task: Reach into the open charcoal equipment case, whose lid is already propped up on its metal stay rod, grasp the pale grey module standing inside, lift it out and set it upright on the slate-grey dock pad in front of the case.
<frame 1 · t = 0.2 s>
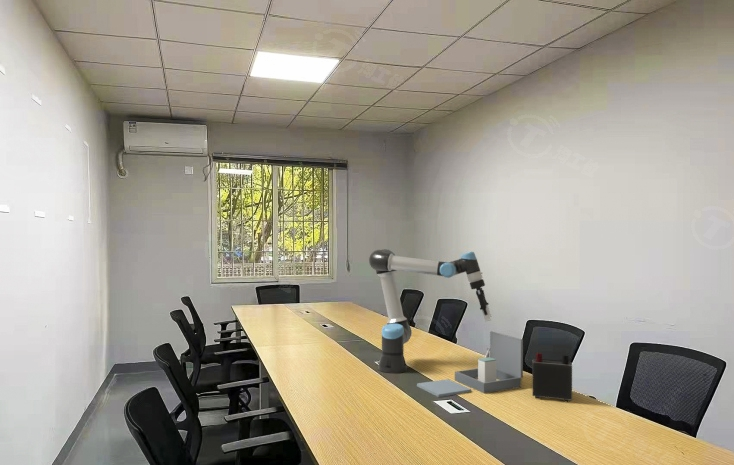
hand: (488, 319, 261), 28 cm above the table, tool tilted 20°, fingers open, 13 cm apart
equipment case: (487, 383, 239), on the table
module: (487, 383, 239), resting in equipment case
voltmeter: (551, 395, 222), on the table
dock pad: (443, 389, 230), on the table
tow hook: (487, 371, 261), on the table
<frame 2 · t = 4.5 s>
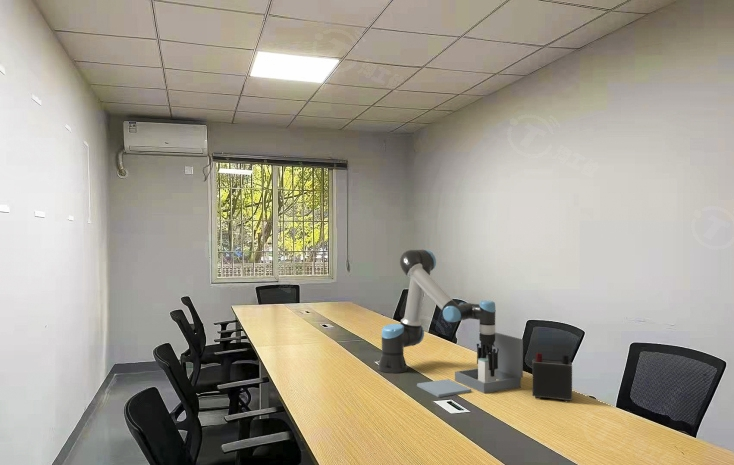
hand: (487, 381, 239), 1 cm above the table, tool pointing down, fingers closed on module, 5 cm apart
module: (487, 383, 239), resting in equipment case, touching gripper
everything else where it was.
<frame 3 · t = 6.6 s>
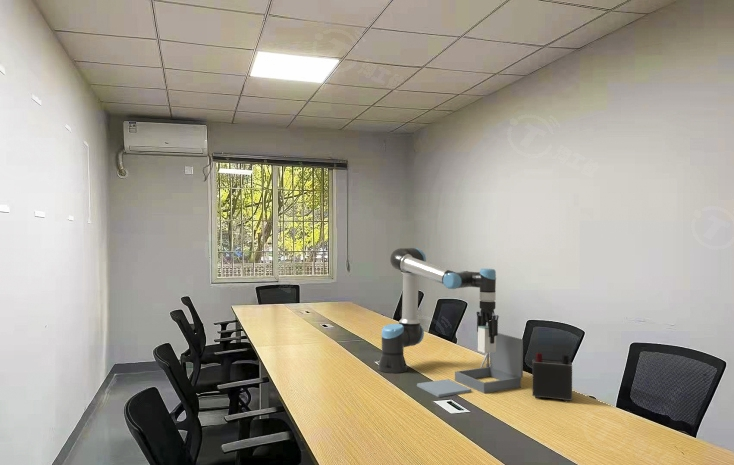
hand: (486, 348, 239), 17 cm above the table, tool pointing down, fingers closed on module, 5 cm apart
module: (486, 351, 239), point 16 cm above the table, touching gripper
everything else where it was.
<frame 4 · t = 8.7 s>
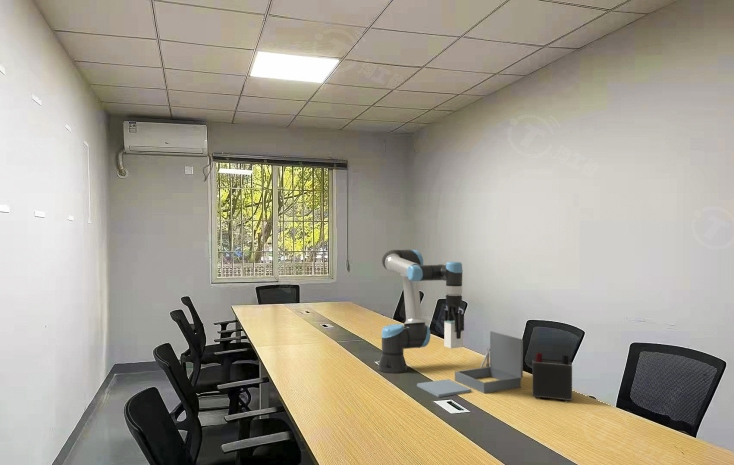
hand: (453, 344, 232), 20 cm above the table, tool pointing down, fingers closed on module, 5 cm apart
module: (453, 346, 232), point 19 cm above the table, touching gripper
everything else where it was.
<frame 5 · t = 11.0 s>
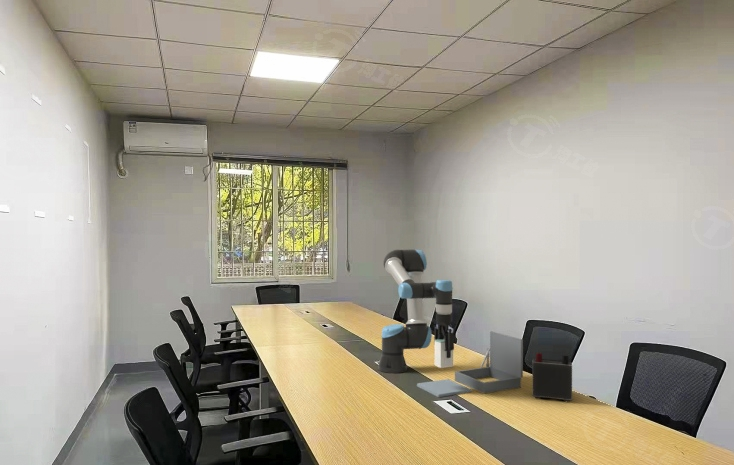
hand: (443, 363, 230), 12 cm above the table, tool pointing down, fingers closed on module, 5 cm apart
module: (443, 365, 230), point 11 cm above the table, touching gripper
everything else where it was.
when the fingers open (4 cm above the table, at t = 13.2 s): module drops 1 cm, resting on dock pad.
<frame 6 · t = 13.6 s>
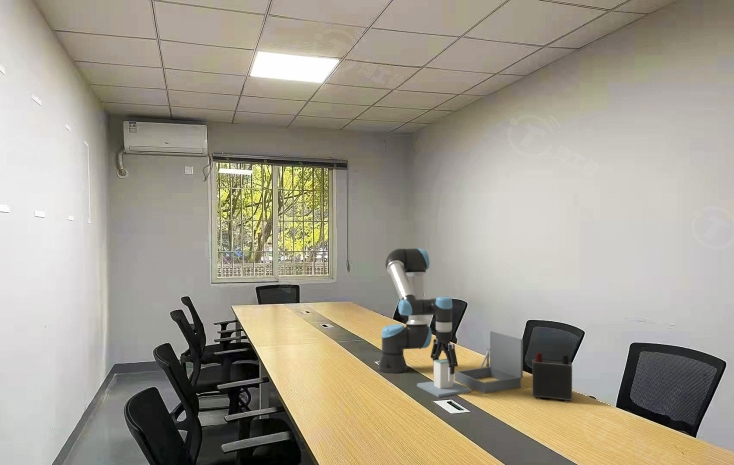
hand: (443, 377, 230), 5 cm above the table, tool pointing down, fingers open, 11 cm apart
module: (443, 386, 230), point 1 cm above the table, touching dock pad
everything else where it was.
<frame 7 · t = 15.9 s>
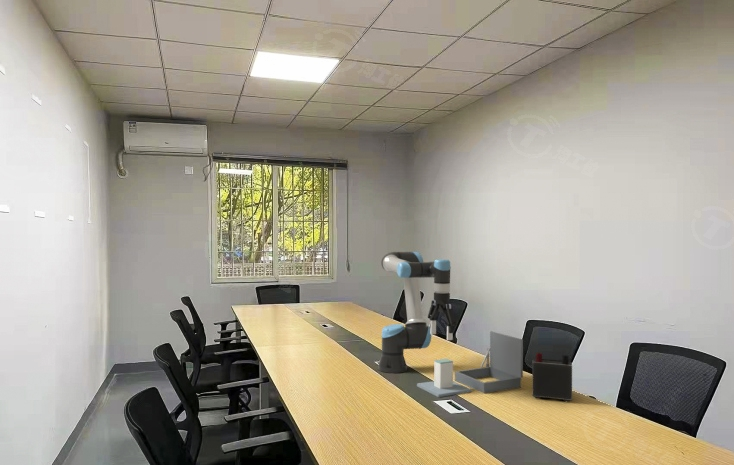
hand: (441, 336, 234), 24 cm above the table, tool pointing down, fingers open, 13 cm apart
nothing on the table moved.
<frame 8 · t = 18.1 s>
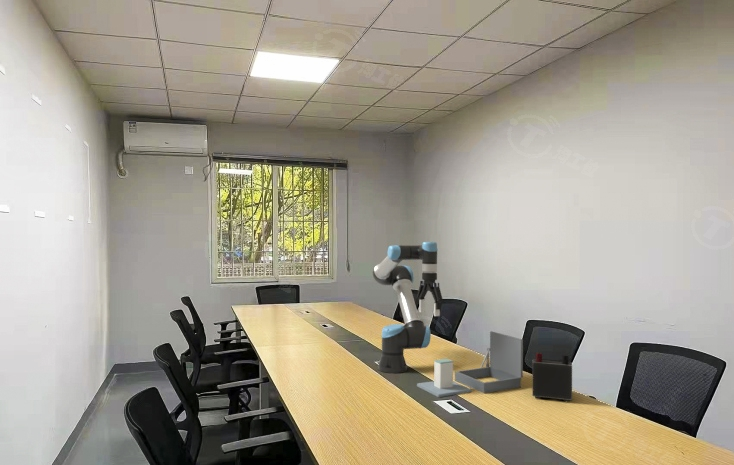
hand: (429, 314, 250), 32 cm above the table, tool pointing down, fingers open, 13 cm apart
nothing on the table moved.
at the end: module inside the target area on the dock pad (0.0 cm from its centre), point 1.2 cm above the dock pad's base; module tilted 0°; the gripper is holding nothing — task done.
